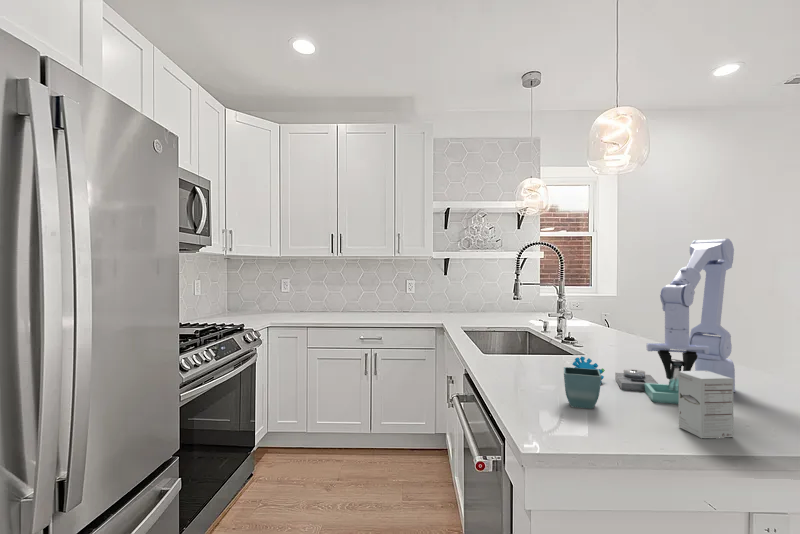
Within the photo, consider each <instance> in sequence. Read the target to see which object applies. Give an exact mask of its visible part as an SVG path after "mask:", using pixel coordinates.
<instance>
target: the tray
mask: <svg viewBox="0 0 800 534" xmlns="http://www.w3.org/2000/svg"><path fill="white" fill-rule="evenodd" d="M668 386H669V383H668V384H667V383H658V384H653V383H645V391H644V393H645V395H647V397H648V398H649V400H650V401H651V402H652V403H661V404H662V403H663V404H673V405H675V404H676V405H679V389H678V391H672V390H669V389H668Z"/></svg>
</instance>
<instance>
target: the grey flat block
mask: <svg viewBox="0 0 800 534" xmlns="http://www.w3.org/2000/svg"><path fill="white" fill-rule="evenodd" d="M614 374H615V376H614V378H615V381H616V383H617V384H618V386H619V387H620V390H621V389H623V390H622V391H634V390H636V391H637V392H645V383H653V384H659V382H658V381H657V380H656V379H654V377H653V376H652V375H651V374H646V371H644V370H641V369H636V368H635V369H633V368H627V369H626V368H625V369H624V370H623V372H615V373H614ZM636 391H635V392H636Z"/></svg>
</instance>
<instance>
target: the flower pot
mask: <svg viewBox="0 0 800 534" xmlns="http://www.w3.org/2000/svg"><path fill="white" fill-rule="evenodd" d="M598 369H599V368H596V369H585V368H575V367H569V366H565V367H563V378H564V379H563V381H564V390H565V391H564V392H565V396H566V399H567V400H568V401H567V402H568V403H569V406H570V407H571V408H577V409H578V408H579V409H588V410H592V409H594V407H595V406H596V404H597V402H598V400H599V397H600V392H601V384H602V382H601V381H602V380H601V375H602V374H600V372H599V370H598Z"/></svg>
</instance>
